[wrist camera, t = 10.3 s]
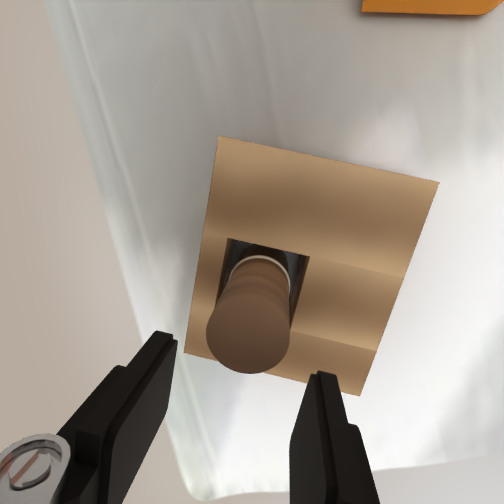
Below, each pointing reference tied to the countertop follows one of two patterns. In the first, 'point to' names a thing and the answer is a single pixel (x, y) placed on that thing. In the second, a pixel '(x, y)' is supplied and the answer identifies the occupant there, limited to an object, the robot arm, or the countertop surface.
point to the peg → (252, 313)
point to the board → (313, 250)
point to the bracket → (431, 6)
